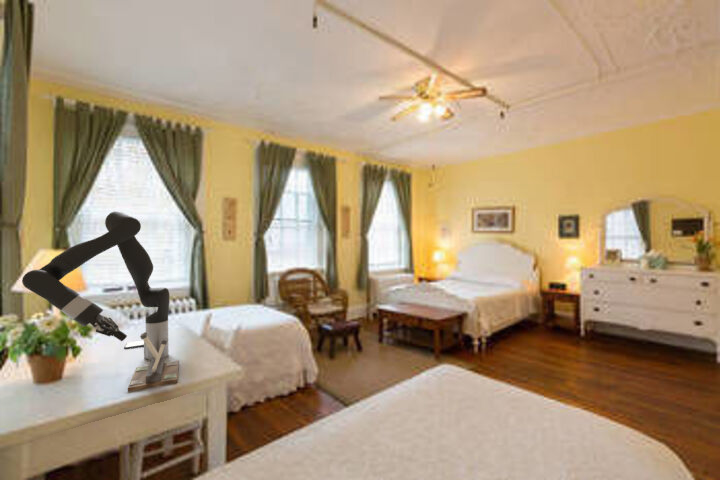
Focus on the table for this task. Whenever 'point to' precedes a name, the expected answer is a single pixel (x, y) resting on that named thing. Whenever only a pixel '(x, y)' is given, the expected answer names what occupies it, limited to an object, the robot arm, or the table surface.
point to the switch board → (154, 375)
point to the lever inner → (149, 344)
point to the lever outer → (159, 354)
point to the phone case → (134, 344)
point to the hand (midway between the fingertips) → (124, 338)
